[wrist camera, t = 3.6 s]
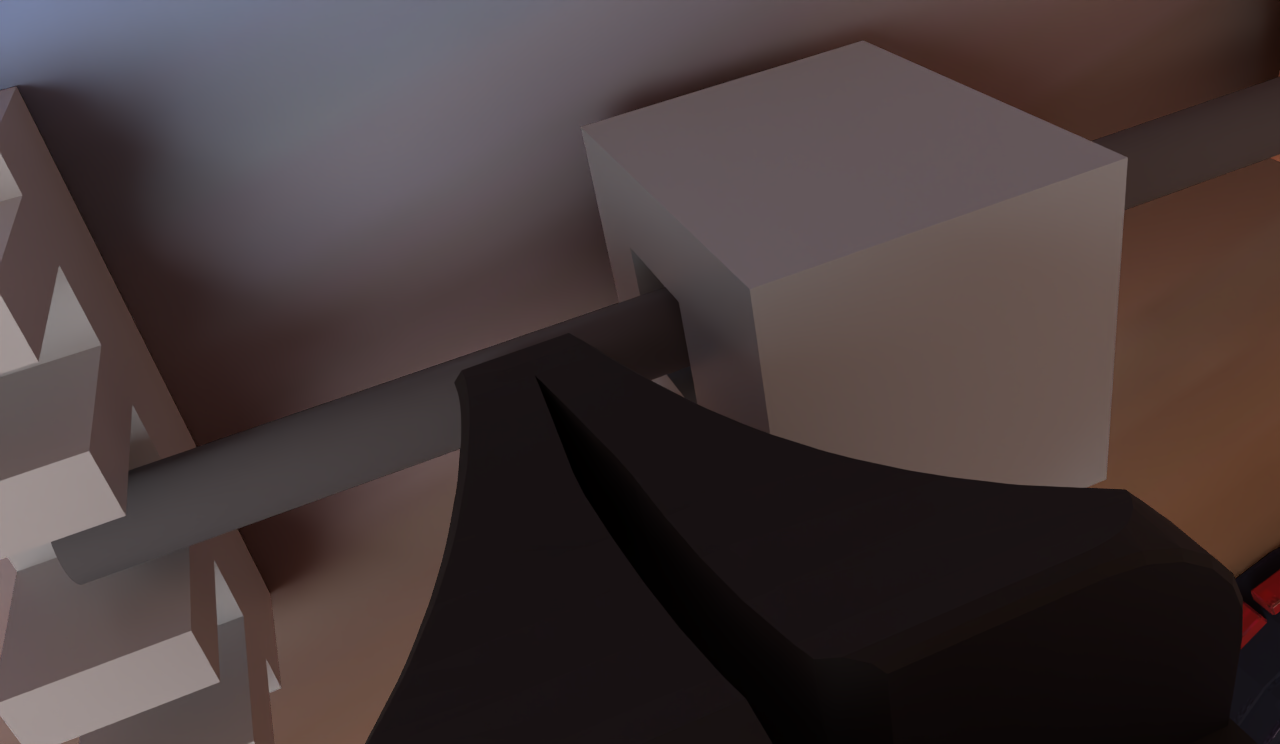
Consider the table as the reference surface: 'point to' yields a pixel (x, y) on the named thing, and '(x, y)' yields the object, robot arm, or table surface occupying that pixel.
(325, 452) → the dark grey rod
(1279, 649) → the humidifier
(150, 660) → the cable comb
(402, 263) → the table surface
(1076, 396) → the grey slotted cube
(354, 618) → the table surface
